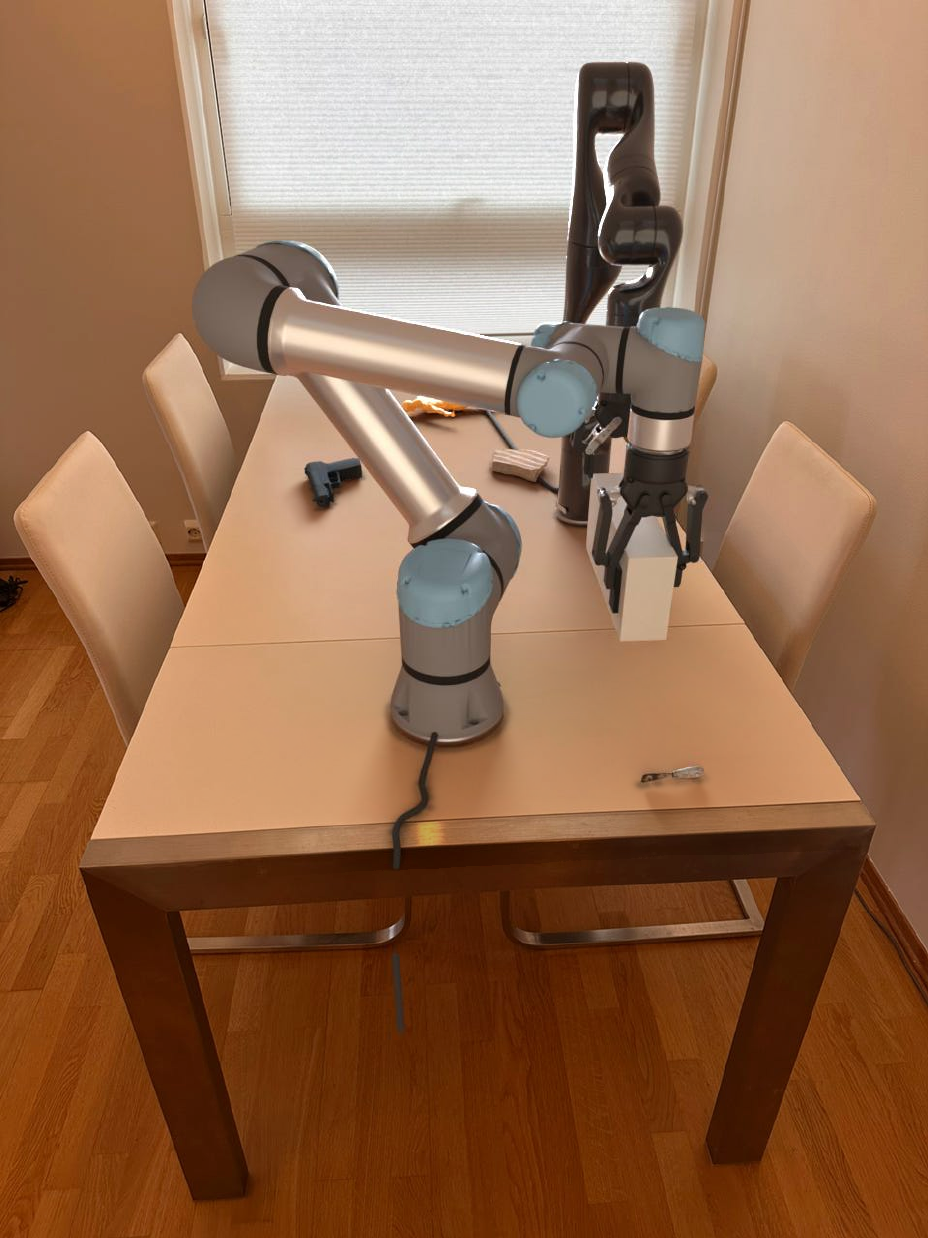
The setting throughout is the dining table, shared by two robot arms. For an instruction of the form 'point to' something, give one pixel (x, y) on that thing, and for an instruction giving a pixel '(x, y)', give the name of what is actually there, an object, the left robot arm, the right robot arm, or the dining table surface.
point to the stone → (519, 462)
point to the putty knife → (674, 774)
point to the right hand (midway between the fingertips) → (618, 475)
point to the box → (636, 570)
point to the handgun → (330, 477)
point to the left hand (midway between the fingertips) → (639, 607)
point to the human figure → (431, 406)
